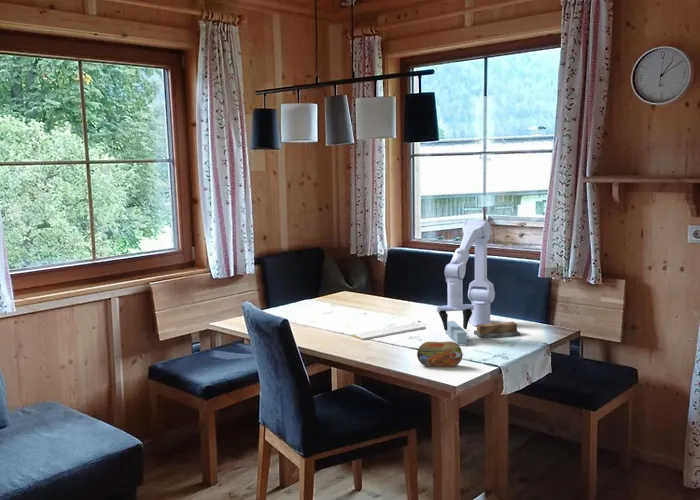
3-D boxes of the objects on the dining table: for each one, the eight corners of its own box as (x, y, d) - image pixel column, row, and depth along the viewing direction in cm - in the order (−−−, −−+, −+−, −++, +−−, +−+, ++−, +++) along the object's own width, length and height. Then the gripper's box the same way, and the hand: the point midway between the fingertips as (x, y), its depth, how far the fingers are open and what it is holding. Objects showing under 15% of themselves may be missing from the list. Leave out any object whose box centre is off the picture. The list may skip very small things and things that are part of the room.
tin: (417, 366, 228) (416, 342, 227) (417, 363, 231) (417, 339, 230) (462, 367, 225) (462, 343, 224) (462, 364, 228) (462, 340, 227)
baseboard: (349, 336, 271) (362, 342, 262) (349, 329, 270) (362, 335, 262) (411, 324, 285) (425, 329, 277) (411, 318, 285) (425, 323, 276)
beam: (445, 333, 269) (445, 321, 268) (453, 332, 270) (453, 320, 269) (457, 345, 251) (457, 332, 251) (466, 345, 252) (466, 332, 251)
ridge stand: (480, 338, 259) (480, 328, 258) (473, 333, 267) (473, 323, 266) (520, 335, 261) (520, 325, 260) (512, 330, 269) (512, 320, 268)
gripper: (439, 297, 253) (439, 333, 255) (476, 295, 255) (477, 330, 257) (434, 294, 260) (434, 328, 262) (470, 292, 262) (471, 326, 264)
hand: (455, 329), depth 260 cm, fingers open, 7 cm apart
